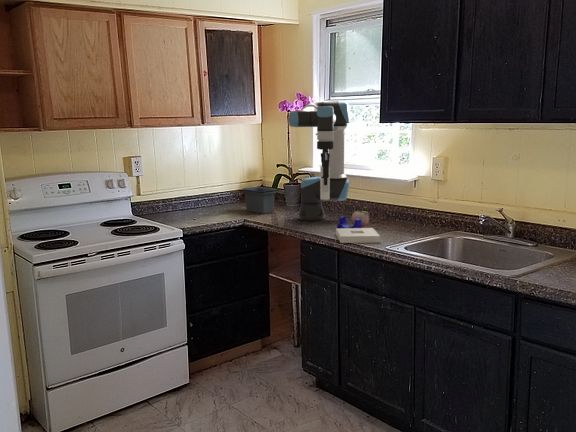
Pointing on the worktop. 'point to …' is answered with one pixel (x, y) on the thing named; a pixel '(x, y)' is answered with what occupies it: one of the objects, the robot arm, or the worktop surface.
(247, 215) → the worktop surface
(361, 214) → the decorative fruit
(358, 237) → the socket block
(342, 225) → the blue shoe
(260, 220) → the worktop surface
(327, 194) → the tube
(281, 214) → the worktop surface
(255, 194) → the storage bin
